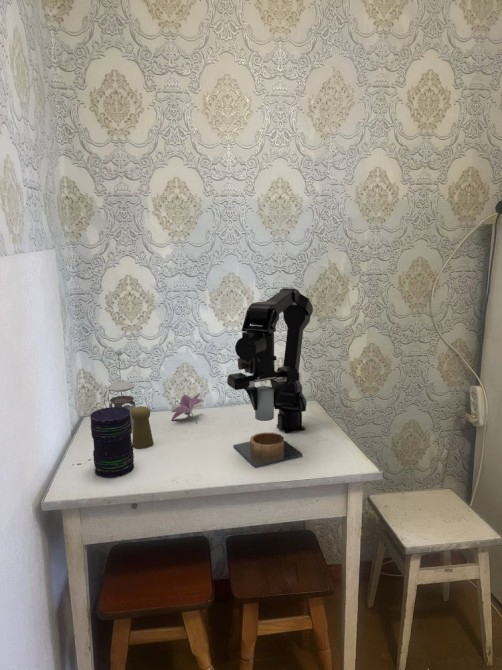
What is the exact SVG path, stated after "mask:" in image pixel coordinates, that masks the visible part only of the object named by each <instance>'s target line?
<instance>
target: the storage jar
mask: <svg viewBox="0 0 502 670" xmlns="http://www.w3.org/2000/svg"><path fill="white" fill-rule="evenodd" d="M89 417H90V432H91V433H90V434H91V438H92V439H93V440H92V441H93V453H92V456H93V464H94V473H95V475H96V476H97V477H98V478H104V479H114V478H120V477H123V476H126V475H128V474H131V472H133V470H134V469H135V464H134V462H135V461H134V459H135V456H134V455H135V453H134V448H133V446H132V434H133V433H132V428H131V425H132V424H131V417H130V410H129V409H127V408H123V406H122V407H114V406H112V407H109V406H108V407H107V408H106V407H104V408H100V409H97V410H95V411H93V412H91V413H90V415H89ZM131 433H132V434H131Z"/></svg>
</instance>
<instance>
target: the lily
mask: <svg viewBox="0 0 502 670" xmlns="http://www.w3.org/2000/svg"><path fill="white" fill-rule="evenodd" d="M201 393H202V392H199V393H197V394H196V395H194V396H192V398H191V396H190V395H188V394H183V395H182V396H181V398H180V402H179V406H177V407H176V408H173V410H171V413H174V414H173V416H172V418H171V421H174V420H175V419H177V418H178V417H179V416H180V415H182V414H184V415H186V416H188V417H190V416H191V415H192V418H193V420H194V421H195V424H196V425H197V424H198V421H197V420H196V418H195V415H194V414H193V409H194V406H196V405H198V404H200V403H201V402H203V400H204V399H202V398H199V397H200V395H201Z"/></svg>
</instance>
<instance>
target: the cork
mask: <svg viewBox="0 0 502 670" xmlns="http://www.w3.org/2000/svg"><path fill="white" fill-rule="evenodd" d="M131 416H132V418H133V420H134V424H133V433H132V438H131V443H132V446H133V449H137V450H145V449H148V448H152V447H153V445H154V444H155V443H154V439H153V433H152V428H151V425H150V416H151V411H150V409H149V407H148V406H143V405H142V406H137V407H136V408H134V409H133V410H132V413H131Z"/></svg>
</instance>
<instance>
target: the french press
mask: <svg viewBox="0 0 502 670" xmlns="http://www.w3.org/2000/svg"><path fill="white" fill-rule="evenodd" d="M114 354H115V356H116V355H117V356H118V358H117V359H118V360H120V355H122V351H121V349H118V350H117V349H116V350H115V353H114ZM120 364H121V363H120V361H118V368H119V369H118V370H119V371H118V372H119V374H121V365H120ZM135 386H136V385H135V384H134V383H133V382H131V381H127V380H122V378H121V375H119V380H118V381H114V382H112V383H110V384H109V385H108V386H107V387H106V389H107V390H106V392H104V395H103V403H104V406H105V408H109V407H123V408H127V409H129V410H130V417H131V424H132V425H131V428H132V433H131V435H133V424H134V420H133V418H132V416H131V413H132V410H133V409H134V408H136V401H134V399H135V397H133V396H132V395H123V392H127V391H131V390H132V389H134V388H135ZM117 392H120V395H119V396H118V395H117V396H114V397H111V398H110V395H114V393H117ZM106 395H107V401H108V404H109V405H108V407H107V405H106V399H105V398H106ZM126 404H127V405H126ZM129 404H130V405H129ZM113 405H114V406H113Z"/></svg>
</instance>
